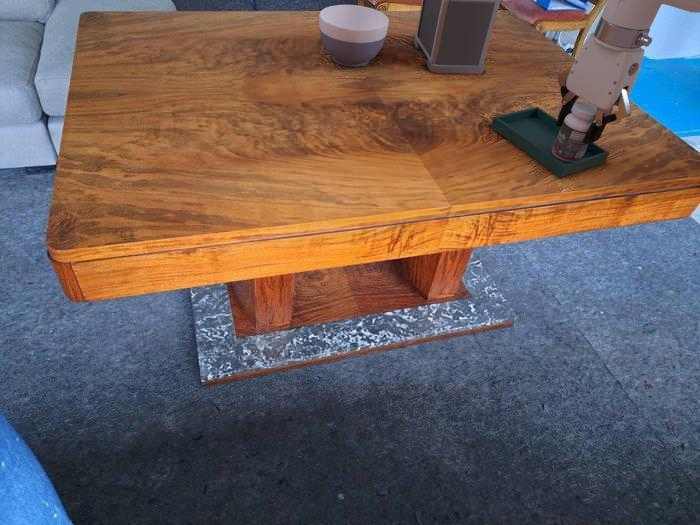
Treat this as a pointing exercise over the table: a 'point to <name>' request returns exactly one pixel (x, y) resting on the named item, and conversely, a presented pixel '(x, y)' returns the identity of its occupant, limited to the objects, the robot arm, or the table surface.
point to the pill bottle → (574, 132)
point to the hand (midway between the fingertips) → (576, 132)
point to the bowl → (352, 33)
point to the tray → (544, 140)
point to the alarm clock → (456, 34)
